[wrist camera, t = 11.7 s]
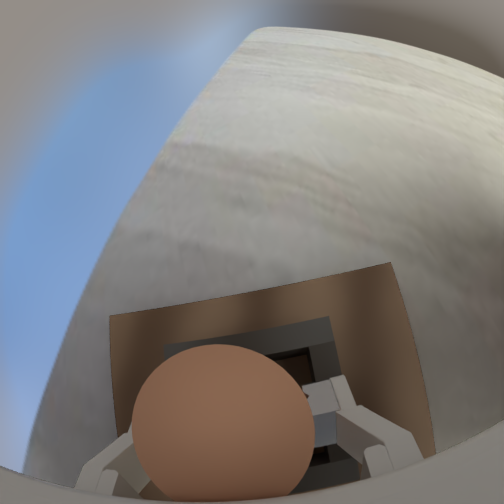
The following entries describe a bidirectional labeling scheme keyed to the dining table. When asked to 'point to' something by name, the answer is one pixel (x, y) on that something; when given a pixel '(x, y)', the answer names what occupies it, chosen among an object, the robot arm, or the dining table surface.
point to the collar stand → (292, 353)
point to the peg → (222, 426)
